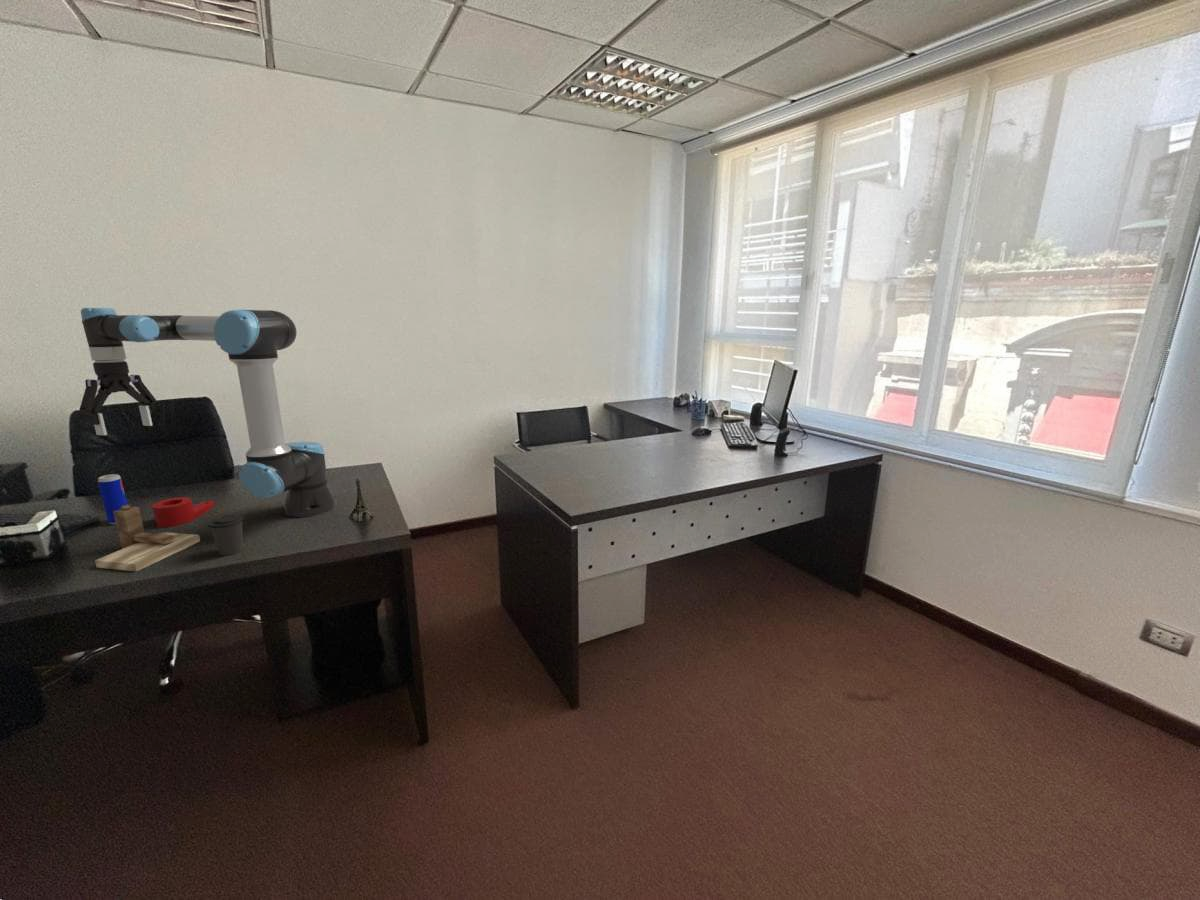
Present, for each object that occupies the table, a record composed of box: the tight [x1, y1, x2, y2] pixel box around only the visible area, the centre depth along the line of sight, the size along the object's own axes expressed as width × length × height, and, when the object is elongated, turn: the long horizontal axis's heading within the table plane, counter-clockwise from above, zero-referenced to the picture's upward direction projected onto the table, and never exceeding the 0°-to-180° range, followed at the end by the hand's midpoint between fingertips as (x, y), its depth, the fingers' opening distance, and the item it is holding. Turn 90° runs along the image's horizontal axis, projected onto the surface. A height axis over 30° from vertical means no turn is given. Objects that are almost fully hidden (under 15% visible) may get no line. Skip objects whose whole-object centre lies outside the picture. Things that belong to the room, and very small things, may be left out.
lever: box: [151, 496, 216, 528], centre depth 162 cm, size 18×9×7 cm, turn 172°
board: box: [94, 531, 201, 572], centre depth 137 cm, size 12×18×2 cm, turn 172°
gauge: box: [113, 504, 174, 549], centre depth 139 cm, size 14×4×12 cm, turn 82°
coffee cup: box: [207, 514, 245, 557], centre depth 138 cm, size 8×8×10 cm
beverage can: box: [97, 473, 128, 525], centre depth 156 cm, size 5×5×15 cm
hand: (125, 430), depth 156 cm, fingers open, 13 cm apart
